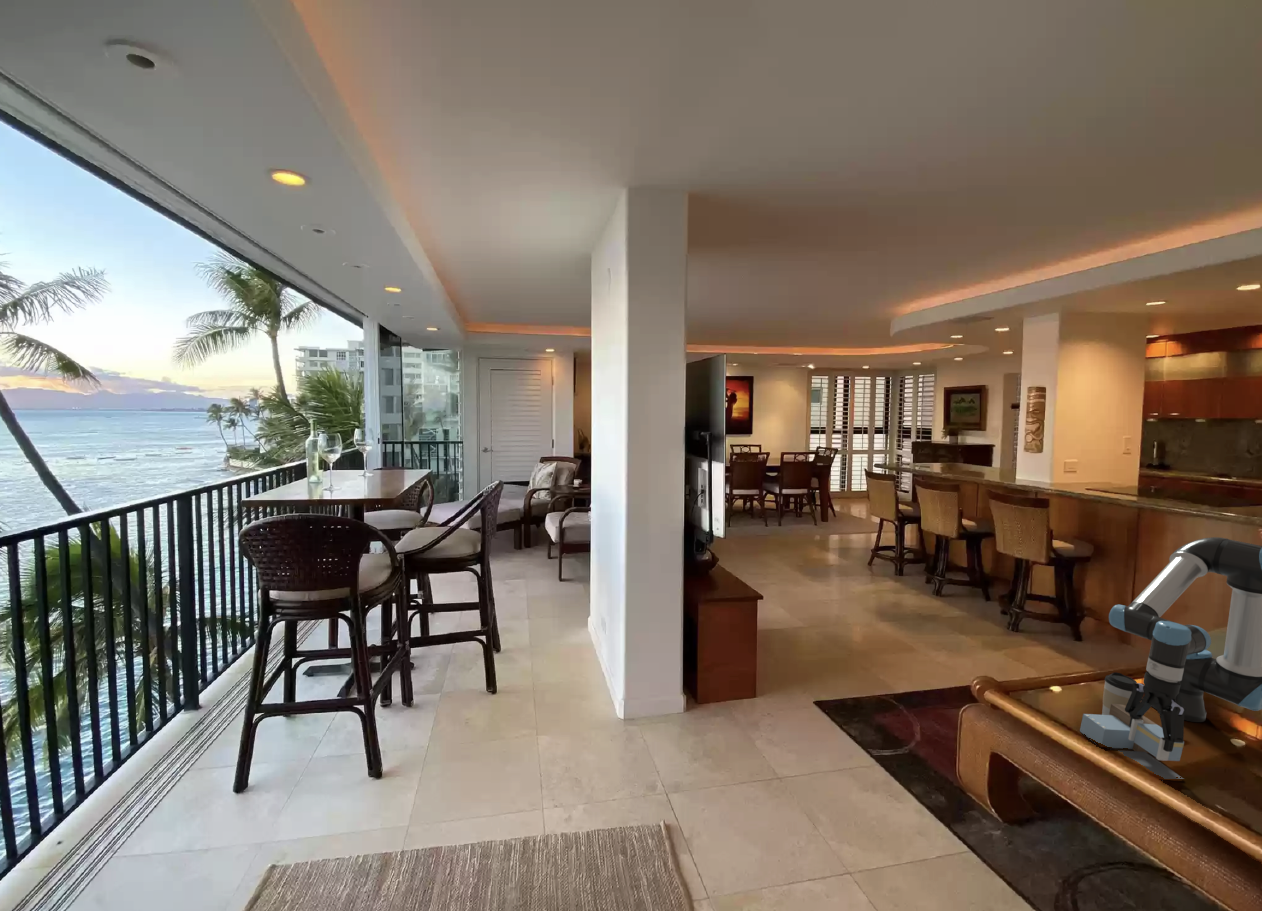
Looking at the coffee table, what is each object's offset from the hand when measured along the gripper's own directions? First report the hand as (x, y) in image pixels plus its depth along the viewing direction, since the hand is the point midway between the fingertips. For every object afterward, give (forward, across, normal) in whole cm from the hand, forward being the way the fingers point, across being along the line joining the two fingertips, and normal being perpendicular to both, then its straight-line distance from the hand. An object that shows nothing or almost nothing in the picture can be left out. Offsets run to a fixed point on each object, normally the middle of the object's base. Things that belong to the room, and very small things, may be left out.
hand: (1147, 749), depth 164 cm
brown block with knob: (+5, -12, +7) cm, 15 cm away
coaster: (+5, 0, 0) cm, 5 cm away
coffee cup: (+5, -24, +13) cm, 28 cm away
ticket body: (+5, -12, +1) cm, 13 cm away
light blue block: (0, 0, +3) cm, 3 cm away
